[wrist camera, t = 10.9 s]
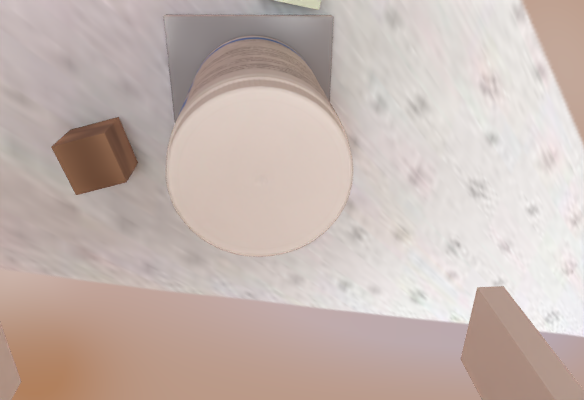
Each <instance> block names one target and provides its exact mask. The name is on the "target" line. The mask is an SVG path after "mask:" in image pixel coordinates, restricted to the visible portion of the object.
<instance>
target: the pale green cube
mask: <svg viewBox="0 0 584 400" xmlns="http://www.w3.org/2000/svg"><path fill="white" fill-rule="evenodd" d="M274 1H279V2H284V3H288V4H293V5H298V6H303V7H308V8H312V9H317V10H319V8H320V3H321V0H274Z"/></svg>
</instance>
